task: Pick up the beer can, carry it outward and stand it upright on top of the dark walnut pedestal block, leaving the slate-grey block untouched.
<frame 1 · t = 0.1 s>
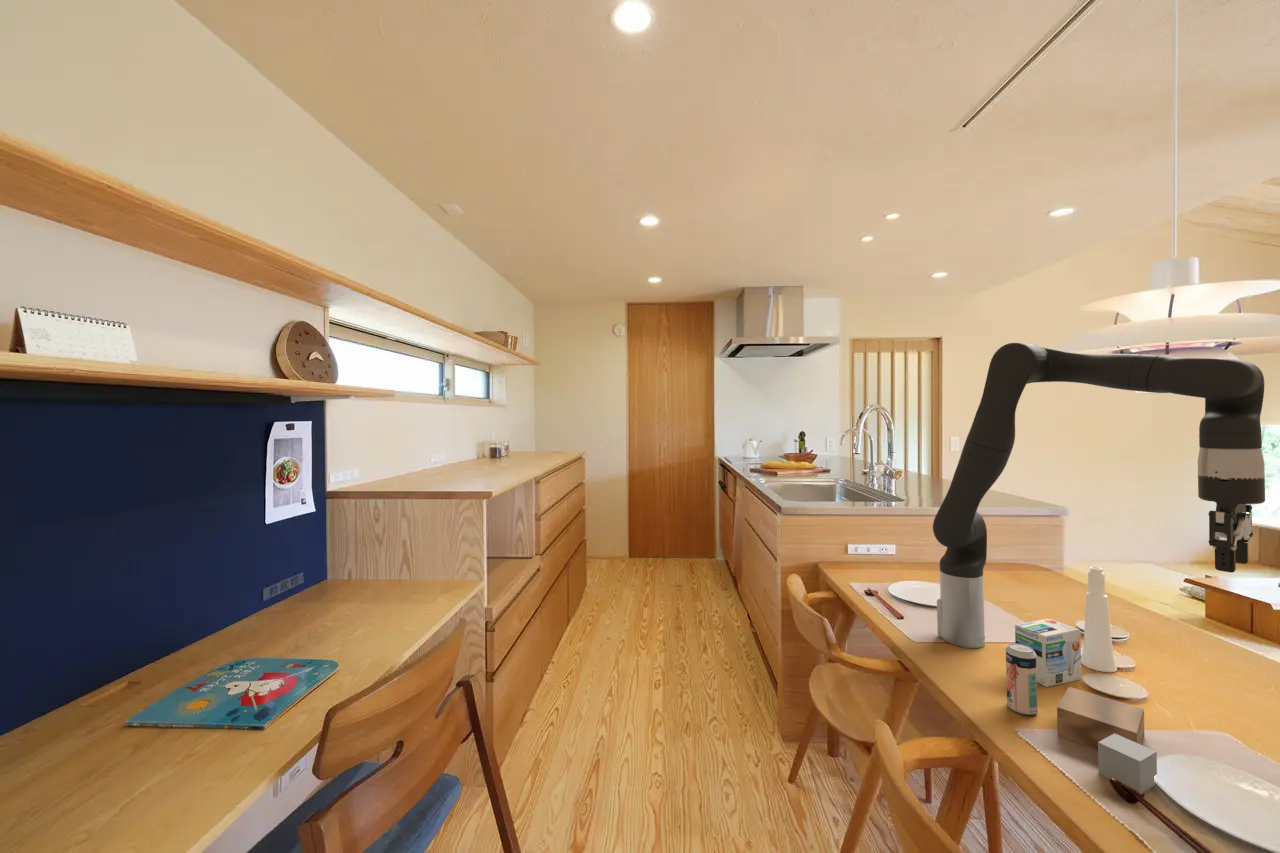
hand: (1232, 566, 87), 29 cm above the table, fingers open, 8 cm apart
slate block: (1127, 778, 77), on the table
walnut block: (1100, 736, 87), on the table
cosmetic bottle: (1098, 666, 111), on the table
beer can: (1022, 710, 96), on the table
light bulb box: (1048, 677, 108), on the table
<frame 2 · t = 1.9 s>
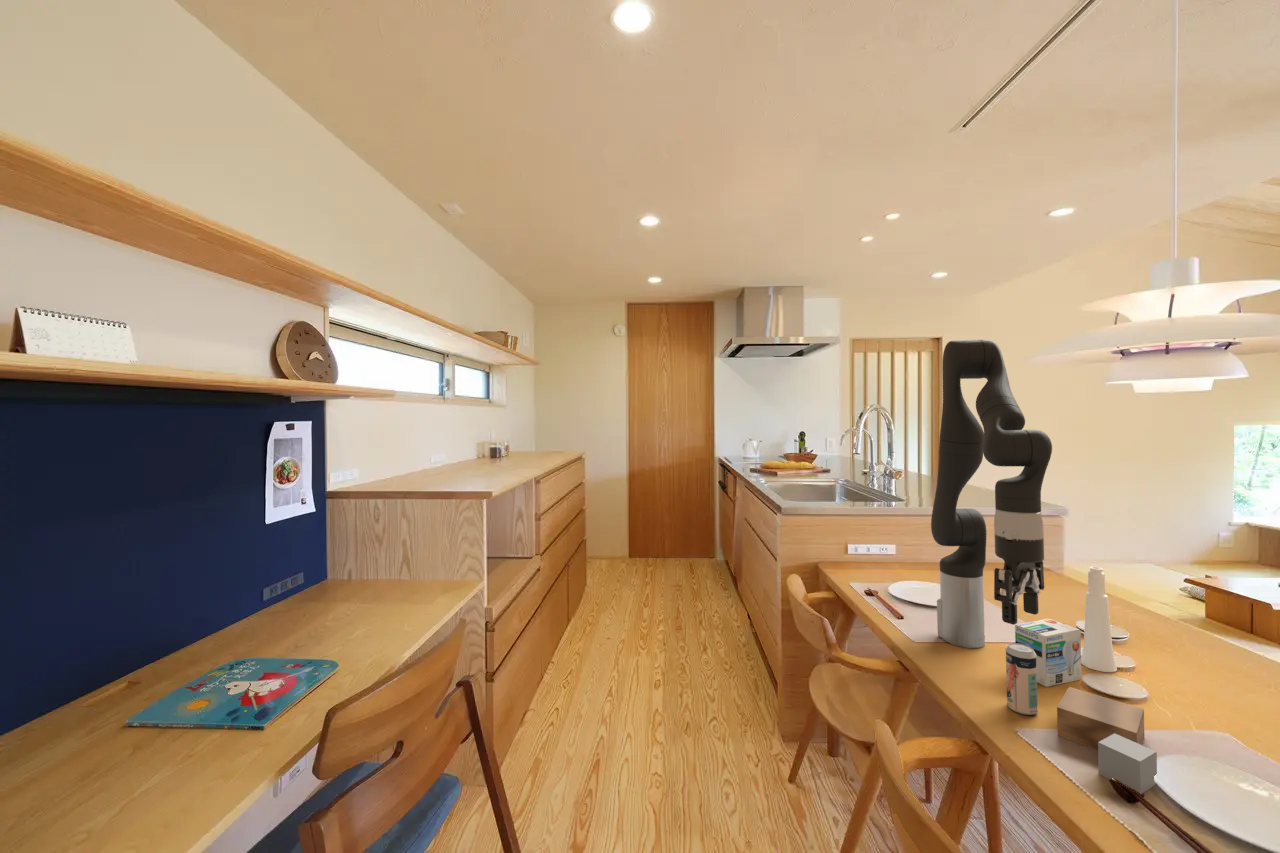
hand: (1020, 617, 96), 18 cm above the table, fingers open, 8 cm apart
nothing on the table moved.
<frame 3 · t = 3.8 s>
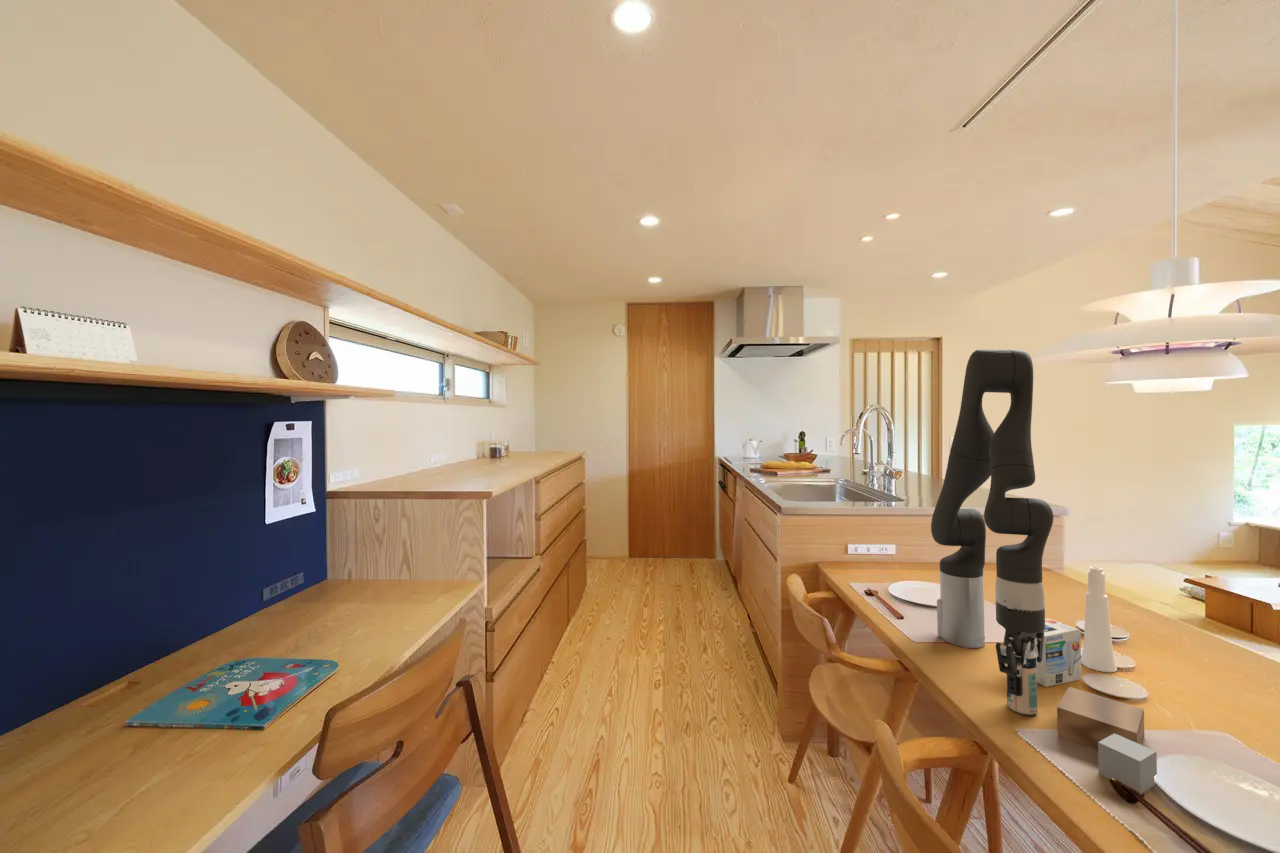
hand: (1021, 689, 96), 4 cm above the table, fingers closed on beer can, 4 cm apart
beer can: (1022, 710, 96), on the table, touching gripper
everything else where it was.
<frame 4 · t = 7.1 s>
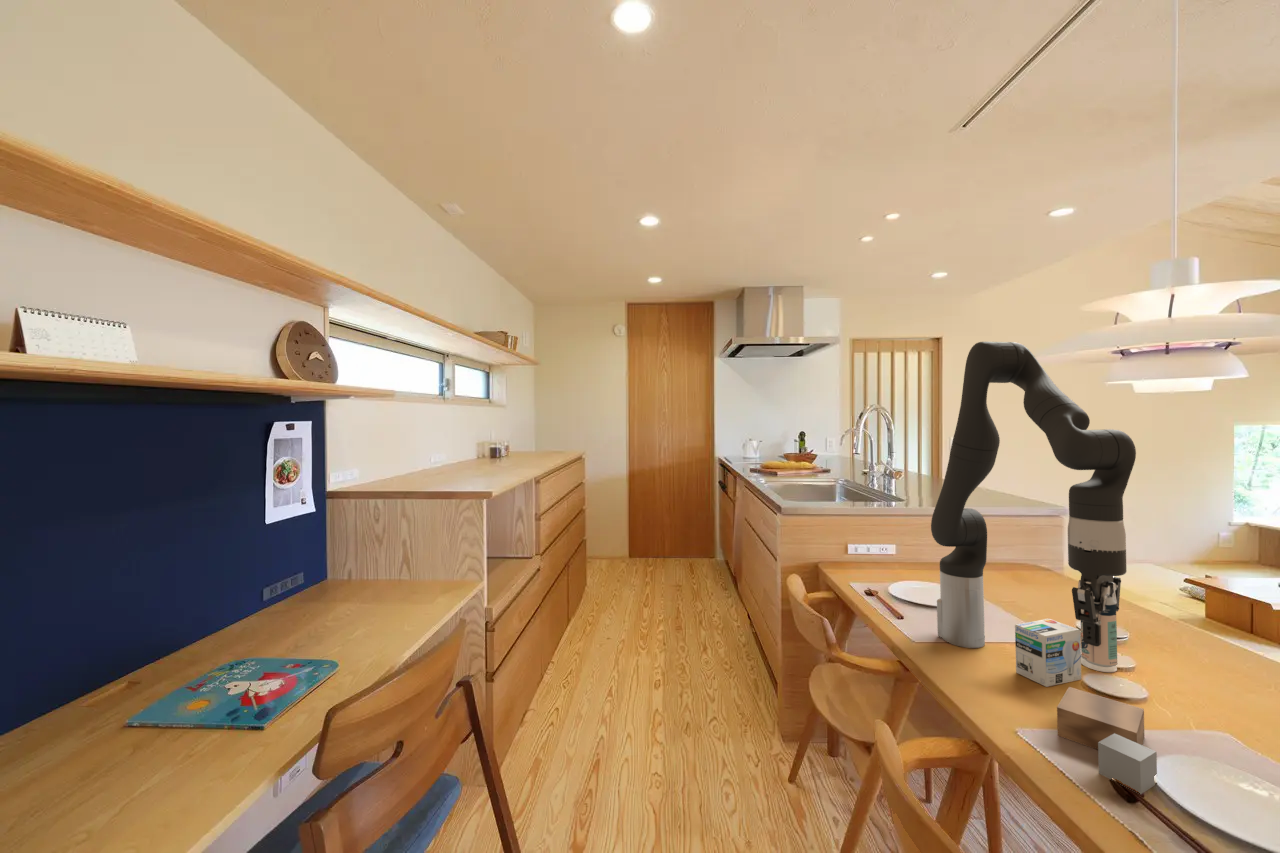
hand: (1098, 640, 87), 17 cm above the table, fingers closed on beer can, 4 cm apart
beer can: (1099, 663, 87), point 13 cm above the table, touching gripper
everything else where it was.
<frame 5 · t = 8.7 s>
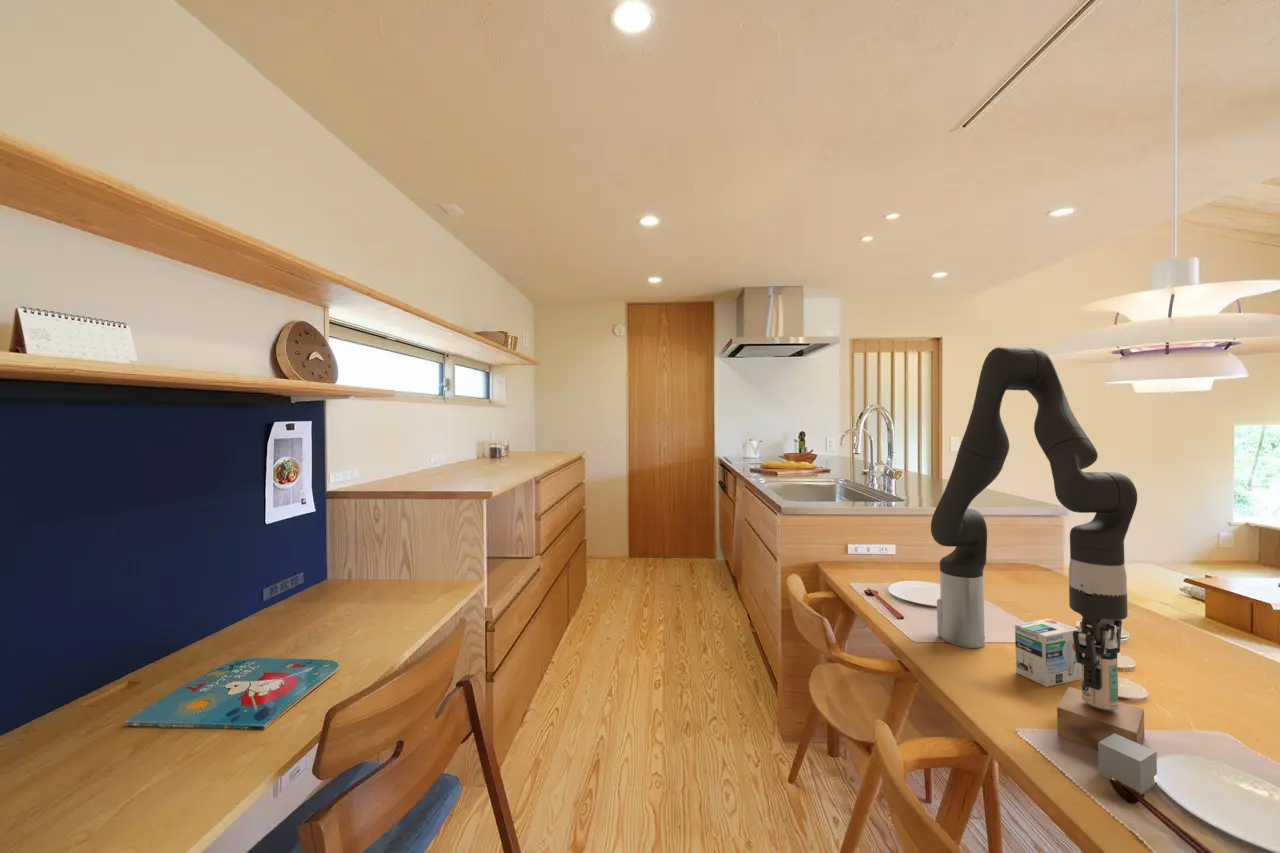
hand: (1099, 682, 87), 9 cm above the table, fingers closed on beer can, 4 cm apart
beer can: (1099, 705, 87), point 5 cm above the table, touching gripper
everything else where it was.
when the fingers open (9 cm above the table, at t = 10.4 s): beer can stays where it is, resting on walnut block.
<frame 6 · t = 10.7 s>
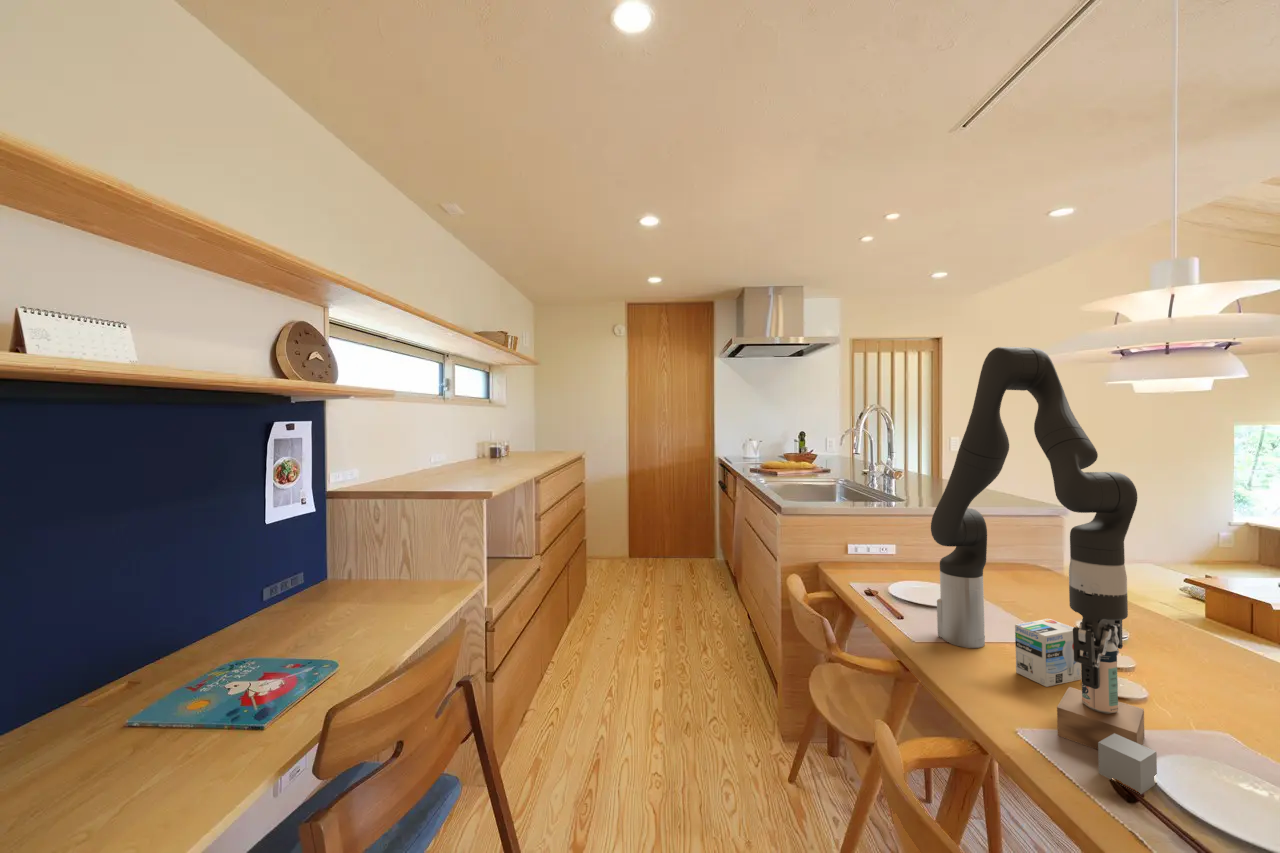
hand: (1099, 680, 87), 10 cm above the table, fingers open, 7 cm apart
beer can: (1099, 708, 87), point 5 cm above the table, touching walnut block
everything else where it was.
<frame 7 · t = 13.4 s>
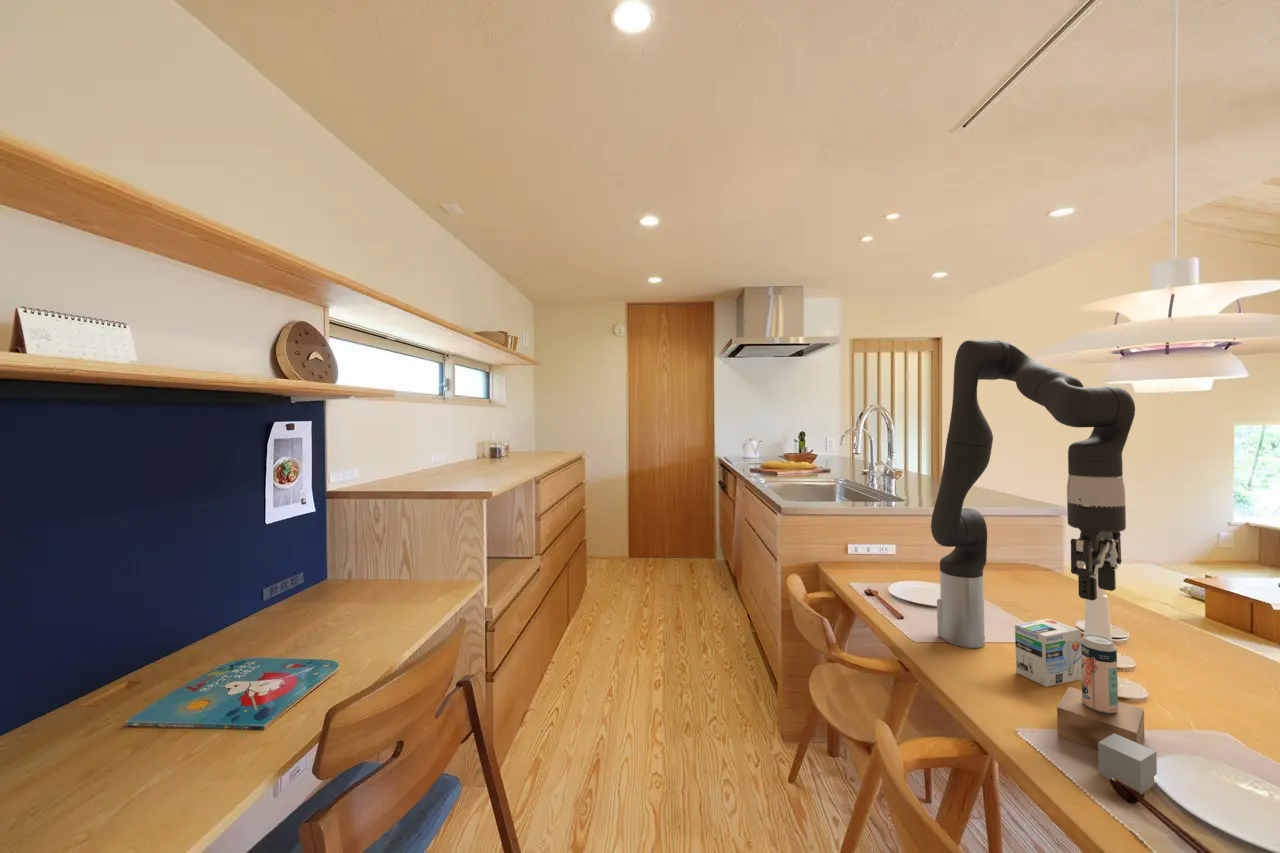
hand: (1097, 594, 87), 25 cm above the table, fingers open, 8 cm apart
nothing on the table moved.
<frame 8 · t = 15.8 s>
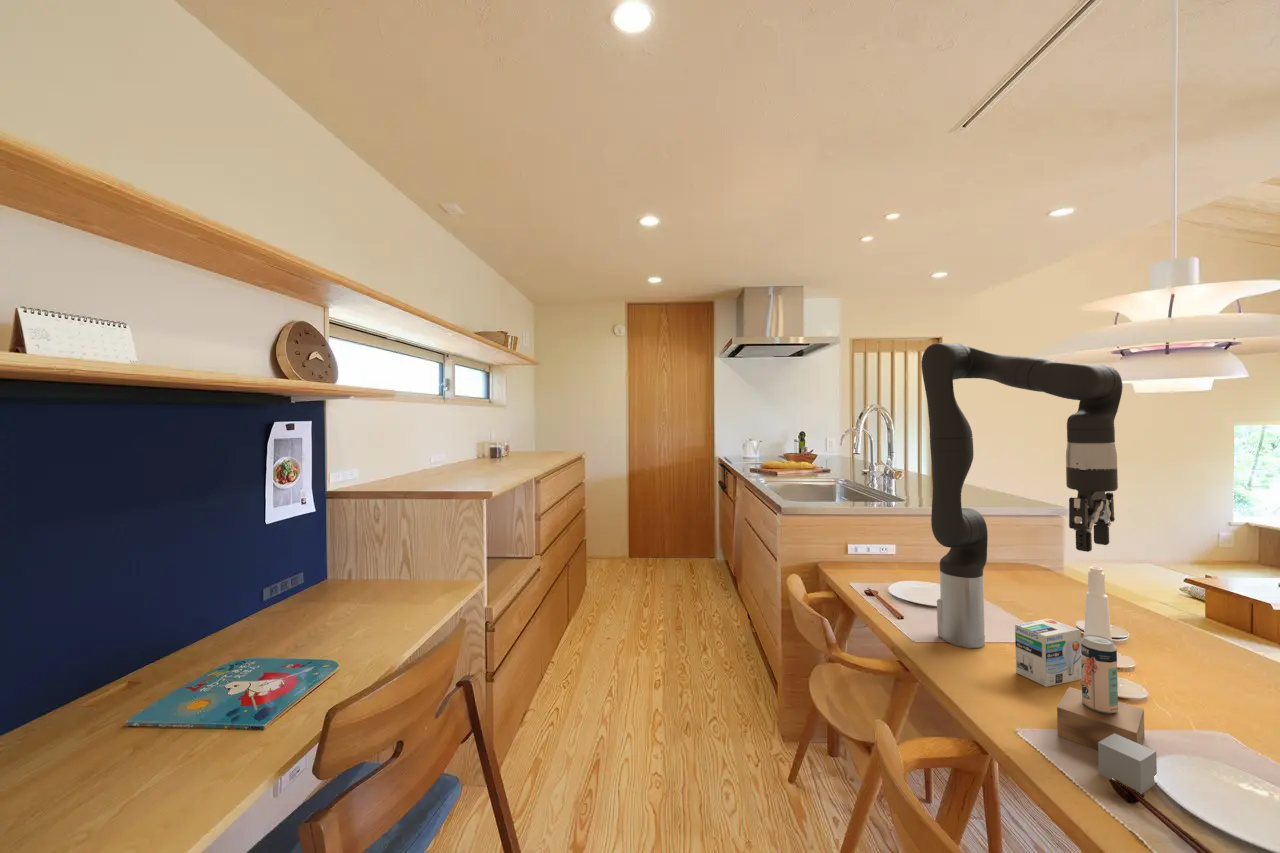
hand: (1092, 547, 98), 30 cm above the table, fingers open, 8 cm apart
nothing on the table moved.
at the end: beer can inside the target area on the walnut block (0.1 cm from its centre), point 4.8 cm above the walnut block's base; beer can tilted 0°; slate block moved 0.0 cm from its start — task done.
